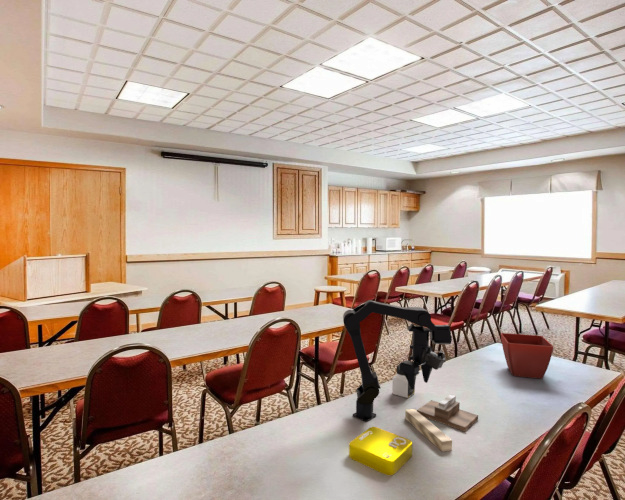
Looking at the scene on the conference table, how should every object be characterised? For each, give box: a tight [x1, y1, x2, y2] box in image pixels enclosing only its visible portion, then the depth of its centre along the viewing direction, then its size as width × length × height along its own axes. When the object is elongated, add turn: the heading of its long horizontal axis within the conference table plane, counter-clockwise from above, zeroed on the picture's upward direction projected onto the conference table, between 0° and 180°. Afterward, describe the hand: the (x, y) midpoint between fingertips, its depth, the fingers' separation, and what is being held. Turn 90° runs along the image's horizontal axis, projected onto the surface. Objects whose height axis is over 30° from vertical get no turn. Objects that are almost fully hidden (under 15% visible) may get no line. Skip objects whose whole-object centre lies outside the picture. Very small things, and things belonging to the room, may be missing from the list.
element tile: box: [348, 426, 413, 476], centre depth 115 cm, size 15×15×5 cm
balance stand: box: [416, 394, 479, 432], centre depth 140 cm, size 12×18×6 cm, turn 47°
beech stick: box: [404, 408, 453, 452], centre depth 129 cm, size 22×4×4 cm, turn 17°
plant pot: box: [500, 332, 554, 380], centre depth 186 cm, size 19×19×17 cm
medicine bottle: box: [391, 364, 416, 399], centre depth 160 cm, size 7×7×12 cm
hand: (419, 385), depth 138 cm, fingers open, 9 cm apart
